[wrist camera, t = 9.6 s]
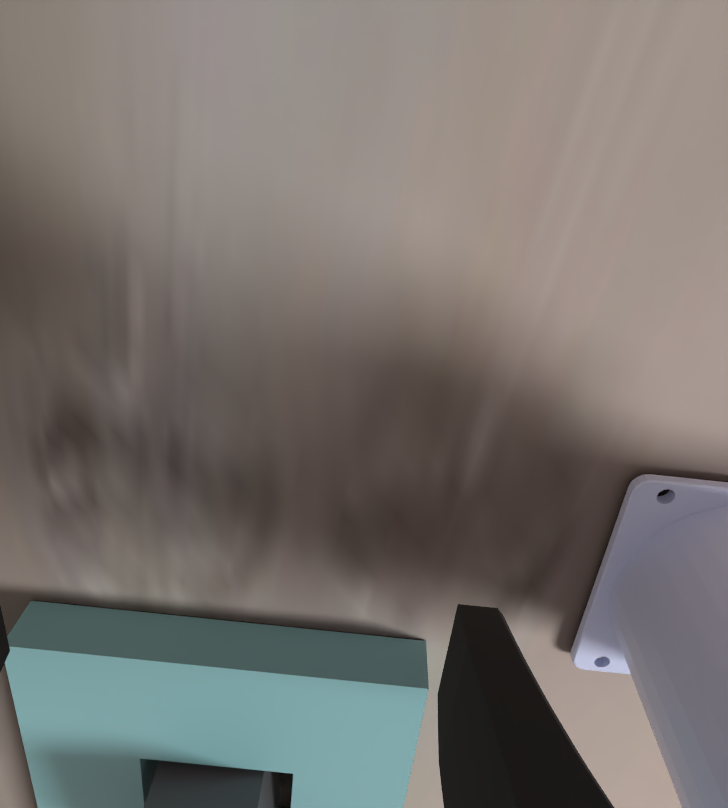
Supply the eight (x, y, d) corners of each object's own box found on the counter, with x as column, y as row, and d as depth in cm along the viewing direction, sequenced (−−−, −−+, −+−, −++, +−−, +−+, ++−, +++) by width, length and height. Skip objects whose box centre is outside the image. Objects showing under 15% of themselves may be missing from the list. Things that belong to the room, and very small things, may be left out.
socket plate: (426, 640, 23) (428, 688, 22) (377, 883, 31) (376, 933, 29) (30, 600, 23) (0, 645, 21) (78, 853, 31) (59, 902, 29)
